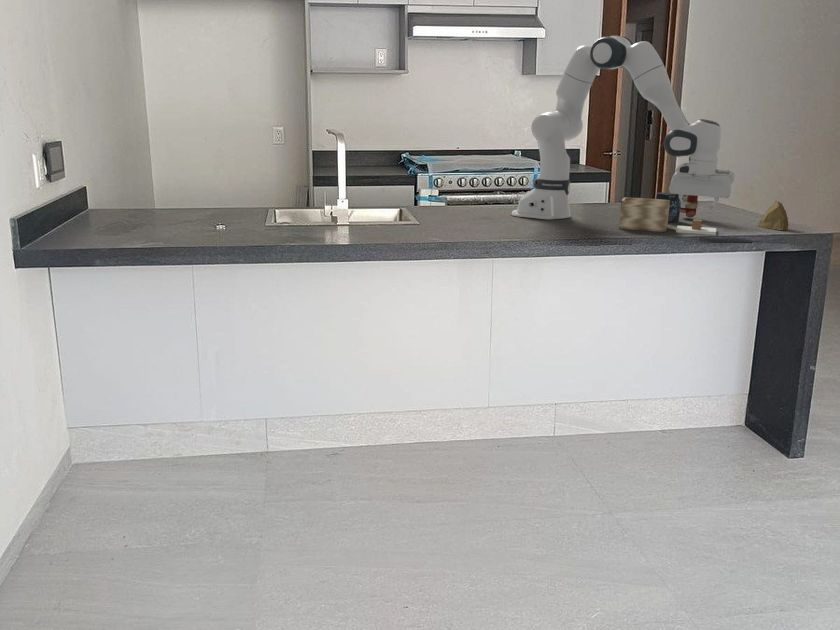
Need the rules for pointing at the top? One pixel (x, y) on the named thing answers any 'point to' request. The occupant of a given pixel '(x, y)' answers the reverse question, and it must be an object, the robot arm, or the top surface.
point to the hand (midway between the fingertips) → (697, 208)
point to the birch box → (644, 214)
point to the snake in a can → (689, 203)
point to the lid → (696, 228)
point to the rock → (775, 218)
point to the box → (671, 205)
